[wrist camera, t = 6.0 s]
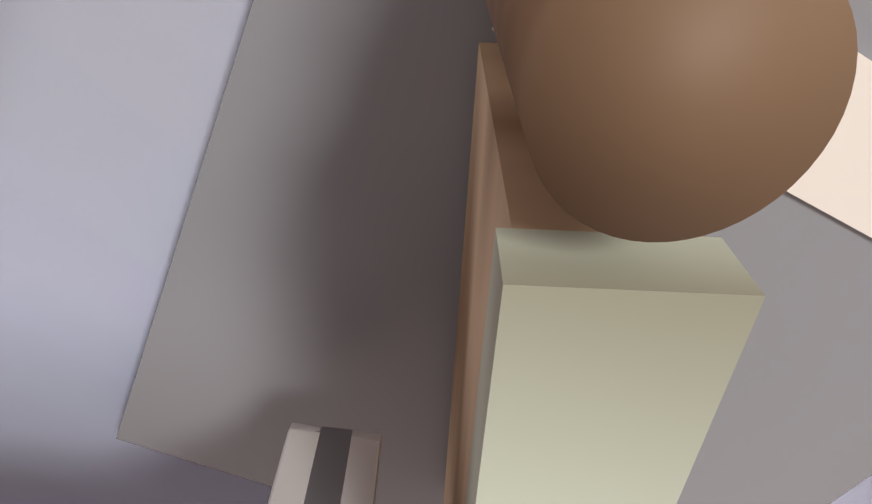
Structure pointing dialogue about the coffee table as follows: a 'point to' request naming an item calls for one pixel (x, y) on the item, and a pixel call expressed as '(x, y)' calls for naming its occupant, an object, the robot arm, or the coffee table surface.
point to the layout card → (455, 269)
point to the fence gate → (622, 231)
